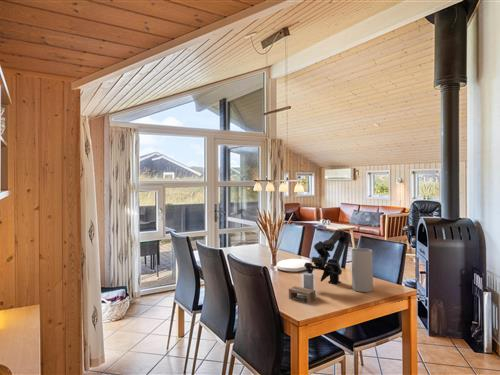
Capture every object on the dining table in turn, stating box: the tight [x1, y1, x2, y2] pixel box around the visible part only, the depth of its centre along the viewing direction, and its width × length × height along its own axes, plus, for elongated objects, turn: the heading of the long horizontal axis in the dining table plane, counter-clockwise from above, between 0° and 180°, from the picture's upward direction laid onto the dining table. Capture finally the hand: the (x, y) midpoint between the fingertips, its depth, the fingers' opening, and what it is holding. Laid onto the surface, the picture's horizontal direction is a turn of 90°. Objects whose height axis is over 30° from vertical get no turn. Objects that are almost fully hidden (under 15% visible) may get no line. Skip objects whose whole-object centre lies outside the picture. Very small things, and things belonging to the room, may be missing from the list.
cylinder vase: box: [350, 247, 374, 293], centre depth 213 cm, size 12×12×25 cm
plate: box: [276, 258, 311, 273], centre depth 270 cm, size 28×6×27 cm
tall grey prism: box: [296, 272, 315, 300], centre depth 201 cm, size 11×6×13 cm, turn 139°
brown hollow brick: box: [288, 285, 317, 304], centre depth 198 cm, size 7×14×6 cm, turn 49°
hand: (314, 280), depth 209 cm, fingers open, 9 cm apart
